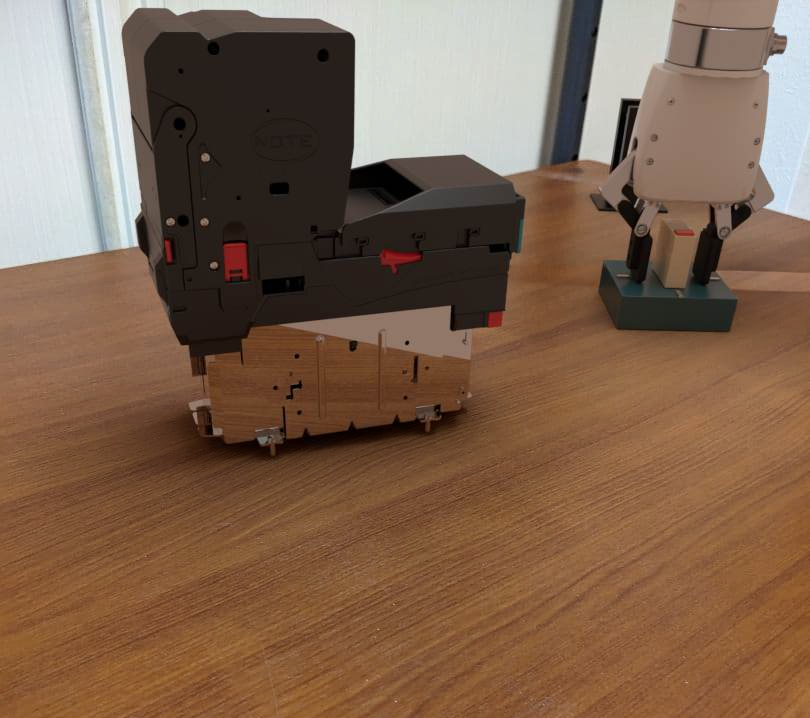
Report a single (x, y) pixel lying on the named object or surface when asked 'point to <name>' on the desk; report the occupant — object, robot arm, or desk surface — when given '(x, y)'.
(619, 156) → the lever bracket
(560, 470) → the desk surface
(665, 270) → the tan upright slab
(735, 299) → the dial panel
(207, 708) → the desk surface
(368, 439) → the desk surface
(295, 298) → the bill acceptor
